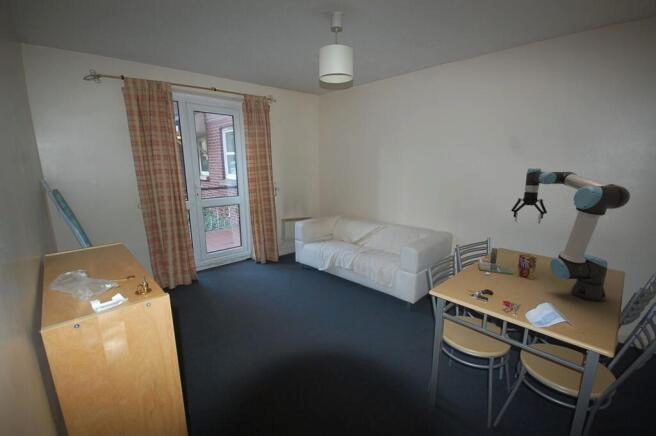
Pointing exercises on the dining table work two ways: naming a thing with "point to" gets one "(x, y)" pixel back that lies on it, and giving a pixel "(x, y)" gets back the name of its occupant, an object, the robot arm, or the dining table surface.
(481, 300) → the dining table surface
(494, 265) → the kicker
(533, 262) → the candy box
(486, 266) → the pitch
